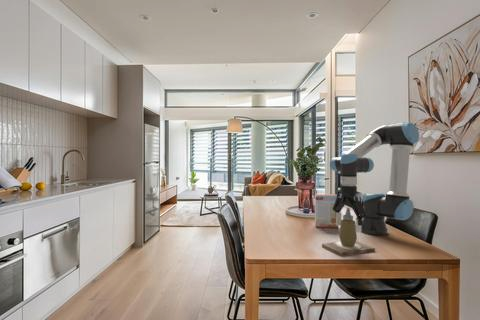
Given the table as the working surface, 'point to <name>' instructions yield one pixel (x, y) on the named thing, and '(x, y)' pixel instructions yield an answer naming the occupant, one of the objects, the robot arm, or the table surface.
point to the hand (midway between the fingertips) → (348, 228)
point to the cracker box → (325, 210)
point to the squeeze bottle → (348, 230)
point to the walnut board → (348, 248)
